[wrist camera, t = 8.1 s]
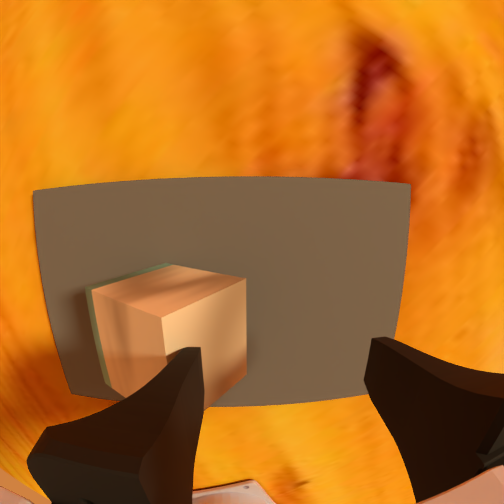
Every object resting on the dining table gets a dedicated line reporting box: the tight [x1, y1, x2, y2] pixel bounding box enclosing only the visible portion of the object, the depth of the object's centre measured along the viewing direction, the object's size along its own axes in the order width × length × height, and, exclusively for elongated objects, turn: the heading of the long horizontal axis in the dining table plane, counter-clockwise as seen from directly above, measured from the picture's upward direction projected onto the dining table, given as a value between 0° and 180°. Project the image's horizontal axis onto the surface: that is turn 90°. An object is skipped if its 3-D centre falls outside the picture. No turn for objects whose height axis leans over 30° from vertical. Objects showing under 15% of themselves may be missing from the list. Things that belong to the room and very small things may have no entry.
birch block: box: [85, 263, 247, 410], centre depth 13 cm, size 5×5×5 cm
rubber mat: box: [33, 177, 411, 407], centre depth 17 cm, size 22×14×1 cm, turn 90°
